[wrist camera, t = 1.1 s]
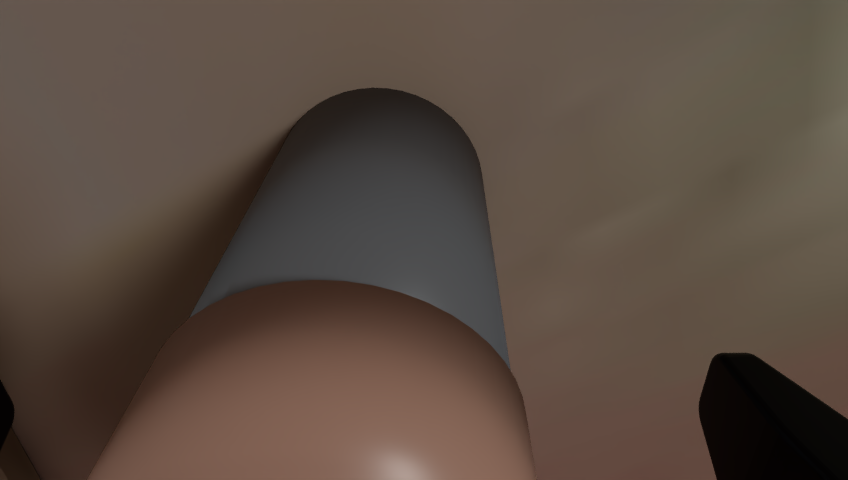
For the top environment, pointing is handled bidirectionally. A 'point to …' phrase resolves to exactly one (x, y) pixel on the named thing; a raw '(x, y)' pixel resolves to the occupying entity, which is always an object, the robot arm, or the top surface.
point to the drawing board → (15, 461)
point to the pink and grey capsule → (343, 320)
